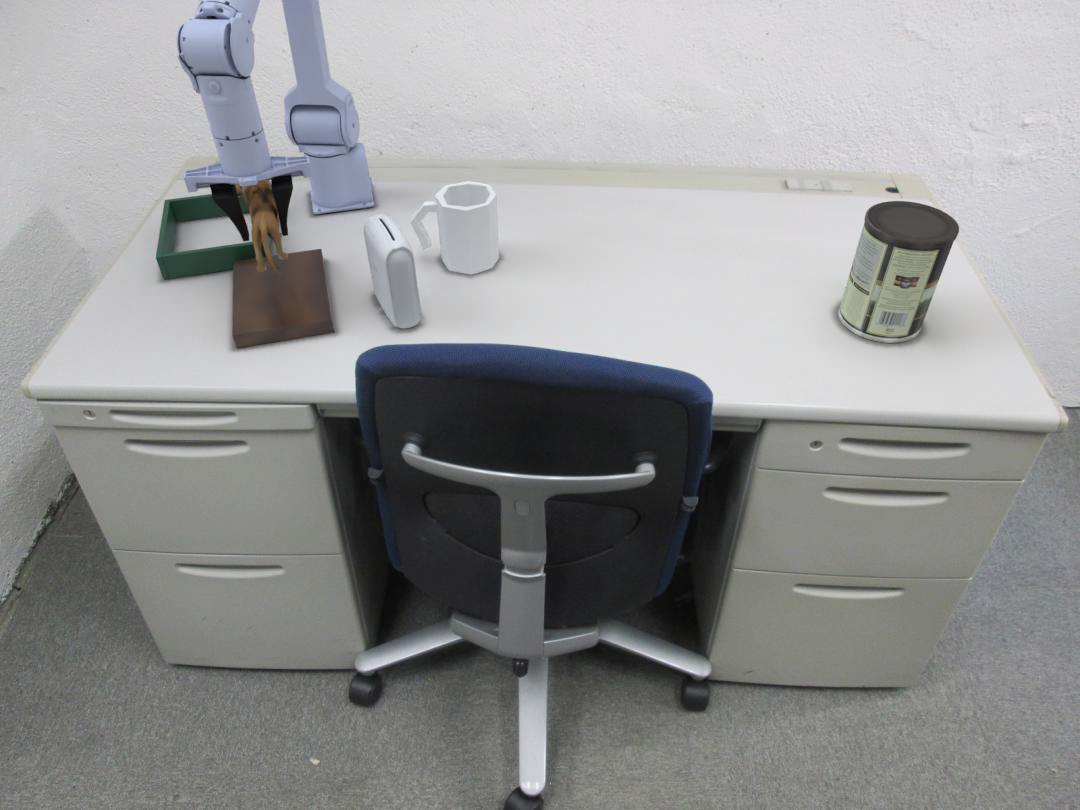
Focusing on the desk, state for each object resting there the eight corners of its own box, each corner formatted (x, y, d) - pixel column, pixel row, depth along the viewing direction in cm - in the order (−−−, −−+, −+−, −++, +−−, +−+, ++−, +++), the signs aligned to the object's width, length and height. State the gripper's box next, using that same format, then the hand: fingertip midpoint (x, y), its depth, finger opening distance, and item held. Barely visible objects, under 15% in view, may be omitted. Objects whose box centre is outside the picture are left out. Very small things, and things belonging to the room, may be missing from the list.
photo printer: (370, 293, 106) (356, 209, 98) (401, 285, 108) (389, 202, 100) (394, 333, 99) (380, 247, 91) (426, 324, 101) (415, 239, 93)
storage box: (268, 207, 125) (263, 187, 123) (272, 263, 112) (266, 242, 110) (171, 220, 122) (164, 199, 120) (163, 279, 109) (155, 257, 107)
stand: (323, 260, 113) (321, 248, 111) (334, 332, 100) (331, 319, 98) (237, 273, 110) (233, 261, 109) (236, 348, 97) (232, 335, 96)
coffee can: (888, 291, 106) (922, 194, 97) (938, 335, 98) (979, 235, 89) (821, 304, 104) (848, 206, 94) (866, 350, 96) (901, 248, 87)
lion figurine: (236, 228, 106) (224, 164, 100) (276, 222, 108) (267, 159, 103) (260, 281, 96) (249, 213, 91) (304, 273, 98) (295, 207, 93)
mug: (499, 242, 116) (496, 180, 110) (499, 274, 110) (496, 209, 103) (417, 244, 116) (410, 182, 109) (413, 276, 109) (404, 212, 103)
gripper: (169, 151, 87) (204, 258, 96) (303, 136, 90) (325, 241, 99) (173, 127, 92) (206, 231, 101) (300, 113, 95) (321, 215, 104)
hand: (265, 234), depth 100 cm, fingers closed on lion figurine, 4 cm apart
